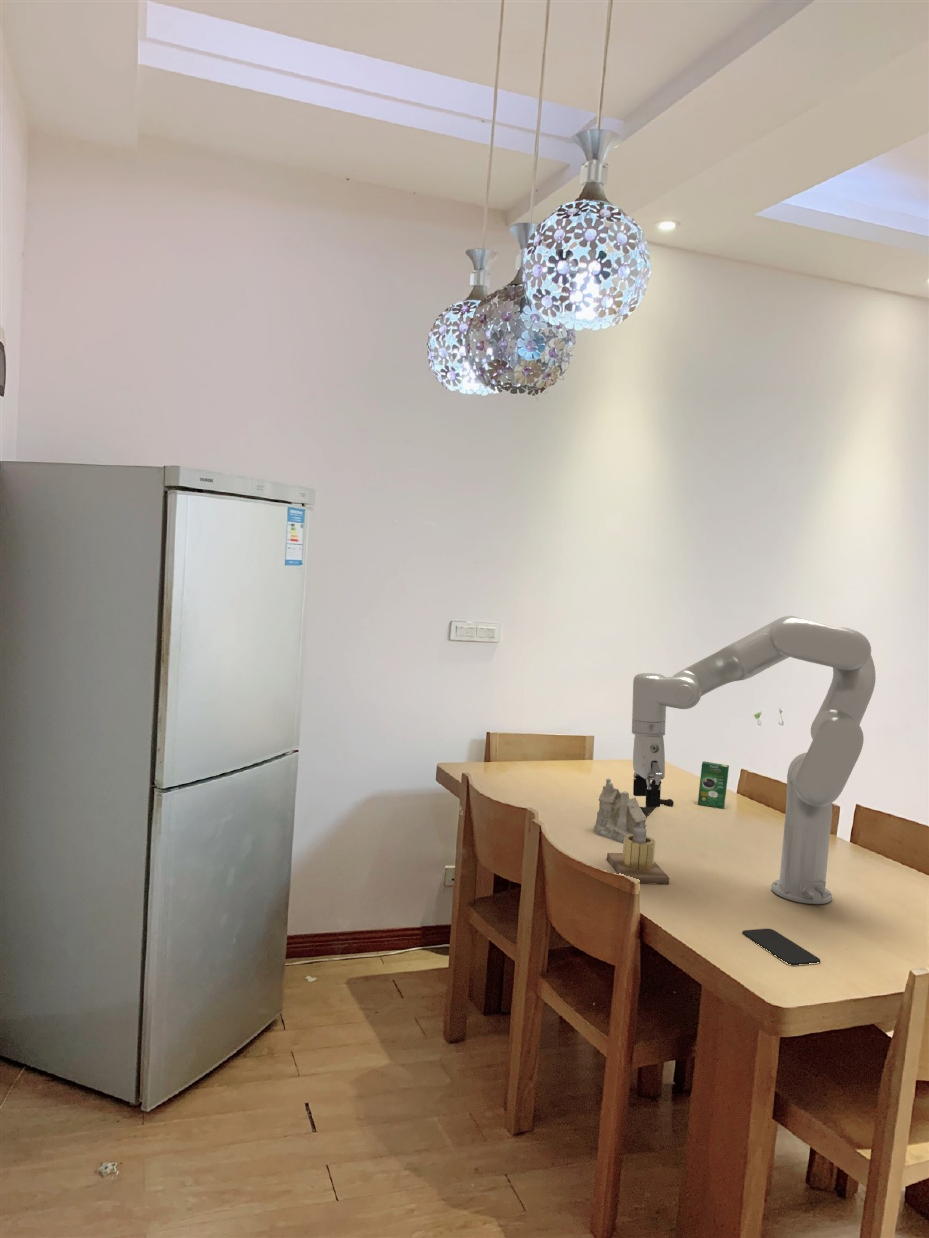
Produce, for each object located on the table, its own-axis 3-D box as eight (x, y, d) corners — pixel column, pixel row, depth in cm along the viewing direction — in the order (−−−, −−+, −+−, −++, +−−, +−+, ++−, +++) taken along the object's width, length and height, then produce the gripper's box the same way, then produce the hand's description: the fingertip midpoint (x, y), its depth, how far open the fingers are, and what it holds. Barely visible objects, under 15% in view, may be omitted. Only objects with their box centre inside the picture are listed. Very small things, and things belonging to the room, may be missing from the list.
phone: (771, 927, 178) (823, 960, 164) (770, 932, 178) (823, 965, 164) (739, 930, 176) (789, 963, 161) (739, 934, 176) (789, 968, 161)
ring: (656, 870, 205) (659, 844, 204) (627, 869, 204) (629, 843, 204) (647, 860, 212) (649, 835, 211) (618, 859, 211) (620, 834, 211)
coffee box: (726, 807, 271) (729, 764, 270) (724, 809, 269) (728, 766, 268) (698, 802, 274) (702, 760, 274) (697, 804, 272) (700, 762, 271)
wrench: (674, 812, 269) (652, 829, 242) (657, 810, 271) (633, 827, 244) (674, 794, 269) (652, 810, 242) (657, 793, 271) (634, 808, 244)
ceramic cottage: (626, 845, 226) (631, 786, 226) (581, 830, 239) (586, 774, 240) (667, 841, 235) (673, 784, 235) (622, 826, 249) (627, 772, 249)
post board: (668, 884, 200) (672, 840, 200) (625, 882, 199) (628, 838, 199) (647, 860, 216) (650, 819, 216) (606, 858, 215) (610, 817, 215)
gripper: (677, 734, 197) (674, 811, 198) (652, 721, 215) (650, 791, 216) (643, 734, 197) (641, 811, 198) (622, 721, 214) (620, 792, 215)
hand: (646, 801), depth 207 cm, fingers open, 9 cm apart
